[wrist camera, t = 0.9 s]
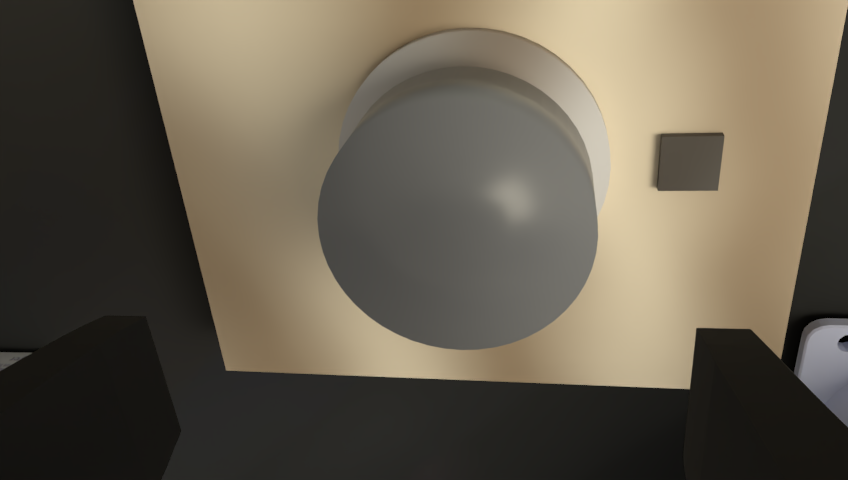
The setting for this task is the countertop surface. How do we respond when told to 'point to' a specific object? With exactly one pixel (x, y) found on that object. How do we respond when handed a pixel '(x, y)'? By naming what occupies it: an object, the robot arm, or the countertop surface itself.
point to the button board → (586, 107)
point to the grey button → (461, 210)
